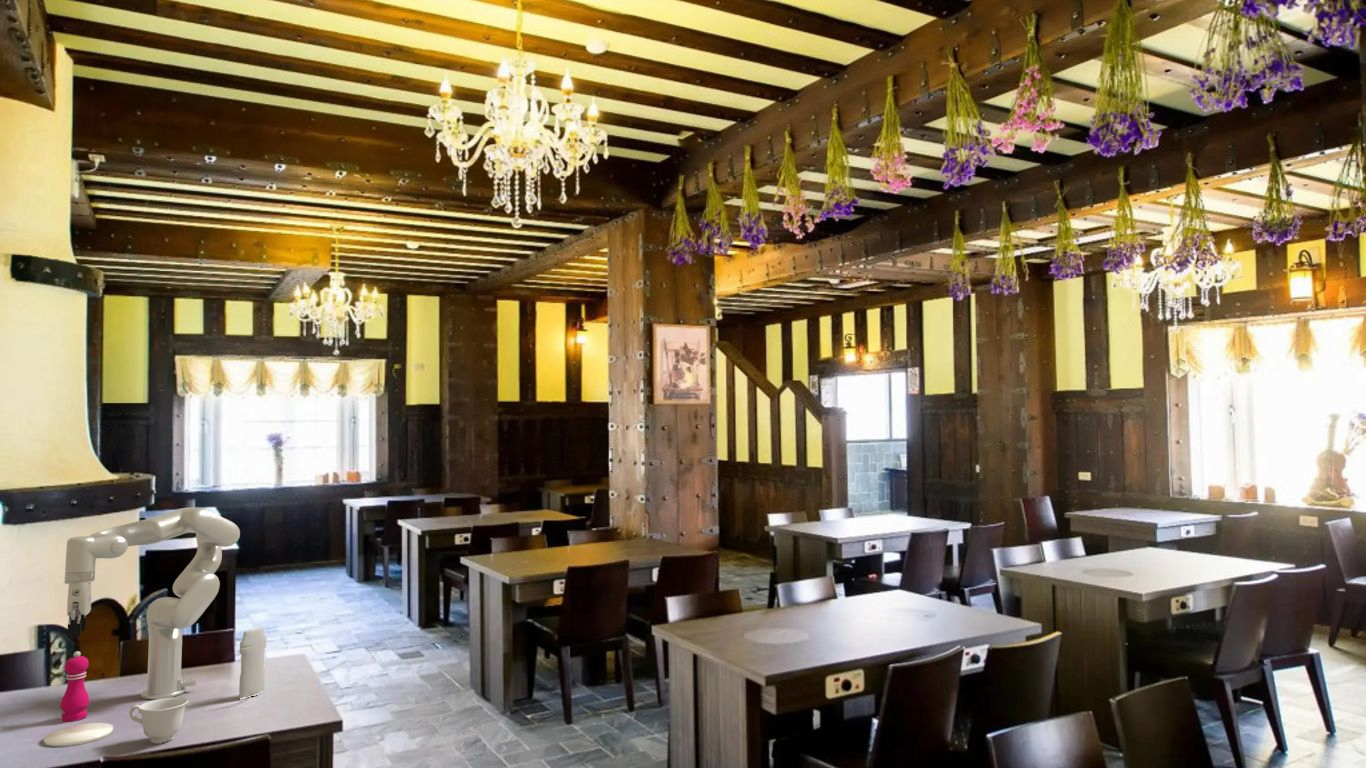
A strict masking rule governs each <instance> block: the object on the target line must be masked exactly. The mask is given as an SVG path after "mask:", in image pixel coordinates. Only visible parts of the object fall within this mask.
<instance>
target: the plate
mask: <svg viewBox="0 0 1366 768" xmlns="http://www.w3.org/2000/svg"><path fill="white" fill-rule="evenodd" d="M113 732H114V725H113V724H110V723H106V722H92V723H91V722H89V723H82V724H81V723H80V724H76V725H71V726H66V727H63V728H59V729H56V730H54V731H51V732H49V733H48V734H46V735H45V736H44V737H43V744H44V743H45V744H47V745H51V746H50V747H52V746H65V747H73V745H74V746H80V745H85V744H89V743H93V742H96V741H100V740H102V739H104V738H107V737H108V736H110V735H112V733H113ZM45 744H44V745H45ZM47 745H46V746H47Z"/></svg>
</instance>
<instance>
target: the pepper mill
mask: <svg viewBox="0 0 1366 768" xmlns="http://www.w3.org/2000/svg"><path fill="white" fill-rule="evenodd" d="M81 654H82V653H81V651H79V650H77V651H74V653H73V656H72V657H70V658H69V659H68V660H66V662H65V663H64V667H63V668H64V671H65V672H66V674H65V680H67V686H66V690H65V692H64V694H63V697H62V698H61V701H60V704H59V705H60V706H59V708H60V710H61V711H62V712H63V713H62V714H61V721H62V722H65V723H69V722H70V723H71V722H77V721H81V720H83V719H86V718H87V717H88V710H87V708H88V706H89V705H90V696H89V693H88V692H87V690H86V686H85V678H86V677H87V675H86V674H87V671H86V670H87V669H88V667H89V660H88V658H87V657H85V656H82V655H81Z"/></svg>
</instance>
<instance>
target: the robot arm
mask: <svg viewBox="0 0 1366 768" xmlns="http://www.w3.org/2000/svg"><path fill="white" fill-rule="evenodd" d="M188 533H189V534H190V533H191V534H195V538H196V542H197V544H196V545H197V550H196V553H195V555H194V557H193V558H192V560H191V561H190V563H188V565H187V566H186V567H185V568H184V570H183V571H182V572H181V573H180V574H179V575H178V577H177V578H176V579H175V580H174V582H173V584H172V592H173V593H174V595H176V596H177V597H170V596H164V597H159V598H157V599H155V600H154V601H152V602H151V603H150V604H149V606H148V608H147V611H146V623H147V630H148V652H147V653H148V655H147V656H148V657H147V658H148V659H147V679H146V680H147V681H146V682H147V683H146V690H144V691H142V692H141V694H140V697H141V698H142V699H145V700H157V699H162V698H171V697H177V696H179V695H182V694H184V693H186V689H187V688H186V687H192V686H193V687H194V686H197V679H193V678H189V679H185V678H184V679H183V676H182V653H183V652H182V650H183V649H182V648H183V647H182V646H183V632H182V630H183V629H188V628H190V627H191V626H192V625H194V624H195V623H196V622H197V621H198V620H199V618H201V616H202V615H203V614H204V612H205V611H206V609H208V608H209V606H210V605H211V603H212V602H213V601H214V600H215V598H216V596H217V595H218V593H219V590H220V586H221V585H220V584H221V583H220V580H219V577H218V576H217V575H216V574H215V573H216V572H217V570H218V569H219V567H220V566H221V563H222V559H223V558H222V557H223V552H222V551H223V550H222V548H223V547H224V548H226V547H231V546H234V545H235V544H236V543H237V542H238V540H239V539H240V536H241V531H240V528H239V527H238V525H237V524H235V523H234V522H233V521H232V520H230V519H227V518H225V517H223V516H221V515H219V514H217V513H215V512H213V511H211V510H209V509H206V508H202V507H189V506H188V507H183V508H179V509H176V510H175V509H174V510H172V511H169V512H165V513H162V514H159V515H157V516H154V517H150V518H146V519H141V520H137V521H133V522H130V523H125V524H120V525H117V526H112V527H110V528H106V529H103V530H100V531H97V532H94V533H92V534H90V535H89V536H87V535H85V536H84V535H83V536H75V537H74V536H73V537H70V538H69V539H68V540H67V541H66V552H65V553H66V554H65V567H64V571H65V573H64V582H63V583H64V584H65V585H68V588H67V589H68V590H67V606H66V607H67V608H66V615H67V617H68V622H67V623H68V624H67V632H66V637H67V639H71V638H72V639H73V638H80V637H81V632H85V631H86V630H87V629H86V628H87V615H88V614H89V613H90V612H91V610H92V583H93V582H95V578H96V577H95V575H96V561H97V559H116V558H119V557H121V556H123V555H124V554H125V553H126V552H127V550H128V548H129V547H134V546H147V545H148V546H149V545H153V544H158V543H161V542H164V541H167V540H170V539H172V538H176V537H179V536H182V535H185V534H188Z"/></svg>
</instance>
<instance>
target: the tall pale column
mask: <svg viewBox="0 0 1366 768" xmlns="http://www.w3.org/2000/svg"><path fill="white" fill-rule="evenodd" d="M266 648H267V635H266V634H265V629H264V627H263V626H262V627H252V628H250V629H248V630H245V631H244V632H243V635H242V639H241V641H240V643H239V654H240V661H241V662H240V675H239V688H238V691H239V692H238V693H239V694H238V695H239V696H238V699H239V698H243V697H248V696H251V695H254V694H257V693H259V692H261V691H263V690H264V691H265V684H266V683H265V681H266V679H265V677H266V676H265V675H266V669H265V655H266V654H265V652H266V650H265V649H266Z"/></svg>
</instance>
